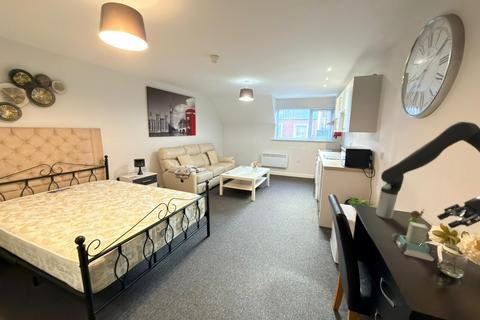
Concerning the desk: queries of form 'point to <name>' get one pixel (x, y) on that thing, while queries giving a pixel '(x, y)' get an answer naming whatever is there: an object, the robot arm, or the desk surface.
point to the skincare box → (416, 233)
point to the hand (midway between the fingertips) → (443, 222)
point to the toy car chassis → (414, 248)
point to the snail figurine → (415, 216)
